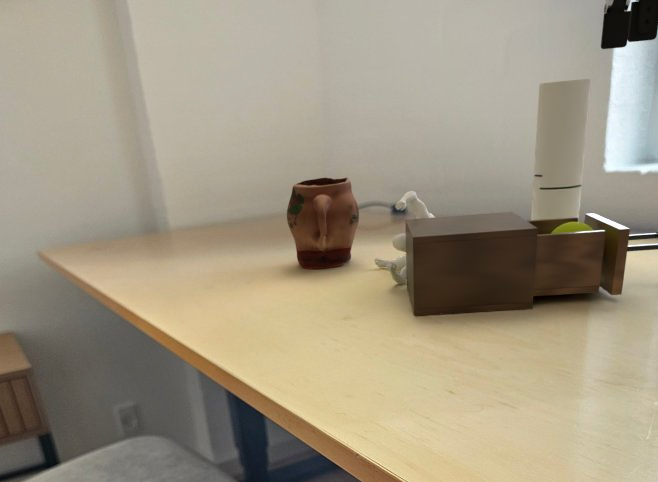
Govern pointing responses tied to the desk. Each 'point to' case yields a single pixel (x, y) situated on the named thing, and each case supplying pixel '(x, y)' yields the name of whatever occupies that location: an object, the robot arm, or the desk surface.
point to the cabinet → (470, 263)
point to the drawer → (583, 256)
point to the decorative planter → (323, 221)
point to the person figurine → (403, 237)
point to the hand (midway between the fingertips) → (626, 44)
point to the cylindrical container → (560, 148)
